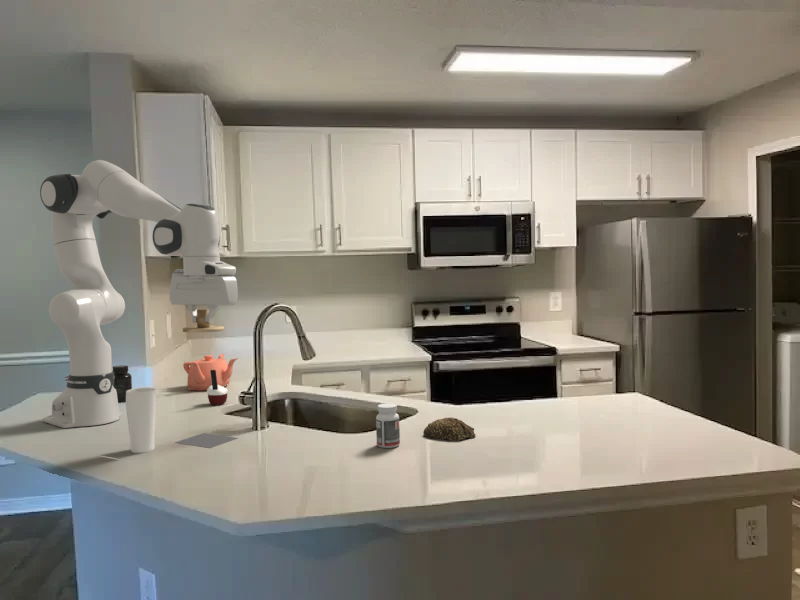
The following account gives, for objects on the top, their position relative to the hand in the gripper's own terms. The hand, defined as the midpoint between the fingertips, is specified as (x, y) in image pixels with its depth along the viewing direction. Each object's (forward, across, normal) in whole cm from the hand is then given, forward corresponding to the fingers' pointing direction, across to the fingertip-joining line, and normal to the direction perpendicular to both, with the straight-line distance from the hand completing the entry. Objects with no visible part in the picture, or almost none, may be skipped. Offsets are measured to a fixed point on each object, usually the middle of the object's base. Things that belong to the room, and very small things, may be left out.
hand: (203, 323), depth 157 cm
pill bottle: (+30, +44, +16) cm, 56 cm away
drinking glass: (+31, -8, -13) cm, 34 cm away
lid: (+2, 0, 0) cm, 2 cm away
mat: (+30, 0, 0) cm, 30 cm away
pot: (+31, -55, +58) cm, 86 cm away
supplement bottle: (+31, -66, +27) cm, 78 cm away
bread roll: (+31, +54, +32) cm, 70 cm away
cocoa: (+31, -31, +36) cm, 57 cm away
